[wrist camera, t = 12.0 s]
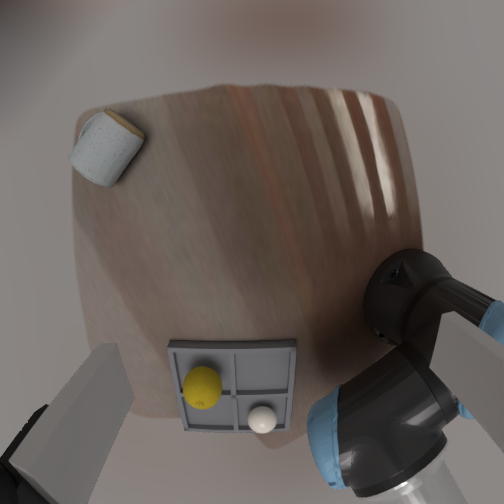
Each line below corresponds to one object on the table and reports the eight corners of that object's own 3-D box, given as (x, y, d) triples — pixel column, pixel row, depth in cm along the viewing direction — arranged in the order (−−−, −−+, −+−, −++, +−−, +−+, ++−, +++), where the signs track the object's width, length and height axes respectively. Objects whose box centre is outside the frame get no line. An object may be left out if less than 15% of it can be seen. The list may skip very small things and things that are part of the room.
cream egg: (276, 399, 41) (279, 419, 37) (275, 418, 42) (277, 438, 38) (246, 400, 41) (247, 420, 37) (247, 419, 42) (247, 439, 38)
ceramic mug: (156, 139, 33) (134, 127, 26) (121, 189, 35) (93, 189, 27) (106, 103, 32) (79, 88, 24) (75, 149, 33) (44, 144, 26)
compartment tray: (294, 339, 40) (296, 346, 38) (287, 422, 44) (289, 430, 42) (170, 340, 40) (166, 347, 37) (186, 422, 44) (184, 430, 41)
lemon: (230, 374, 40) (229, 410, 32) (202, 388, 41) (197, 424, 33) (208, 350, 39) (202, 384, 31) (180, 366, 39) (169, 400, 32)
